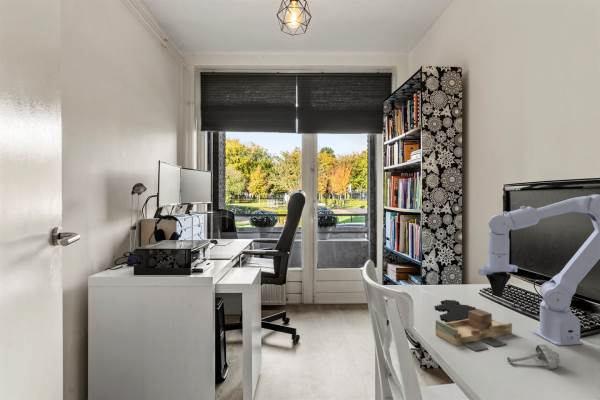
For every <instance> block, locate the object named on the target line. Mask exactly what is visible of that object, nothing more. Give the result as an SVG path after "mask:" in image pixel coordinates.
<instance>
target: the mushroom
mask: <svg viewBox="0 0 600 400" xmlns="http://www.w3.org/2000/svg"><path fill="white" fill-rule="evenodd" d="M506 360H507V363H509V364H510V365H512V364H513V363H517V362H523V361H526V360H533V361H537V362H539V363H542V364H543V365H544V363H545V364H546V365H547V366H546V367H547V369H550V370H553V369H556V368H557V367H558V364H559V363H560V361H561V359H560V354H559V353H558V352H557V351H555V350H552V349H551V348H549V347H548V346H547V345H546V344H544V343H538V344H537V345H536V347H535V353H532V354H531V353H530V354H528V355H524V356H519V357H509V356H507V357H506Z"/></svg>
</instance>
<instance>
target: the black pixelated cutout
mask: <svg viewBox="0 0 600 400" xmlns="http://www.w3.org/2000/svg"><path fill="white" fill-rule="evenodd" d="M440 303H441V304H437V305H434V310H435V311H438V312H444V313H441V314H439V318H440V321H443V323H448V322H453V321H459V320H464V319H468V311H471V310H477V309H478V308H476V307H475V306H472V305H469V304H461V303H460V302H459V300H455V299H444V300H441V301H440ZM445 312H446V313H445Z"/></svg>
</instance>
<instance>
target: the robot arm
mask: <svg viewBox="0 0 600 400" xmlns="http://www.w3.org/2000/svg"><path fill="white" fill-rule="evenodd" d="M571 212H572V213H573V212H574V213H581V214H586V215H587V216H588V217H589V218H590V219H591V223H592V225H593V228H594V230H593V232H592V233H591V234H590V235H589V237H588V238H587V239H586V240H585V241H584V243H583V244H582V245H581V246H580V247H579V249H578V250H577V251H576V252H575V254H574V255H573V256H572V257H571V258H570V259H569V261H568V262H567V263H566V264H565V266H564V267H563V269H562V270H560V272H559V273H557V274H556V275H554V276H553V277H552V278H551V279H550V280H549V281H546V282H544V283H542V284H541V286H540V289H539V291H540V292H539V294H540V295H541V296H542V298H543V299H542V301H541V302H540V303H539V329H536V330H534V329H533V330H532V333H534V334H535V335H537V336H539V337H541V338H543V339H544V340H547V341H548V342H551V343H552V344H553V345H555V346H569V345H570V346H571V345H582V344H583V341H581V321H580V319H579V317H578V316H576V315H575V314H574V313H573V312H572V311H571V307H570V306H571V304H572V298H573V296H574V295H575V294H576V291H577V288H578V285H579V284H580V283H581V282H582V280H583V279H584V278H585V277H586V275H588V273H589V272H590V271H591V270H592V268H593V267H594V266H595V265H596V264H597V263H598V262H599V260H600V194H596V193H595V194H593V193H592V194H589V195H588V196H587V195H584V196H576V197H572V198H568V199H565V200H562V201H559V202H554V203H551V204H547V205H545V206H542V207H537V208H534V207H532V206H529V205H528V206H526V205H522V206H520V207H519V208H518V209H515V210H511V211H503V212H502V214H503V215H502V214H495V215H493V216H491V218H489V221H488V227H489V232H488V236H489V237H488V247H487V250H488V251H487V255H488V256H487V264H485V266H482V267H478V268H477V270H478V271H477V274H478V275H480V276H485V277H486V278H487V280H488V282H489V284H490V287H491V291H492V296H495V297H498V298H502V296H503V294H504V291H505V288H506V285H507V284H508V282H509V280H510V279H511V277H512V275H511V274H509V273H510V272H511V273H513V272H514V273H517V272H518V265H515V264H510V240H511V239H510V236H509V235H510V231H511V230H512V231H515V230H520V229H525V228H528V227H531V226H536V225H537V224H538V223H539V221H540V220H541V219H546V218H550V217H554V216H558V215H564V214H567V213H571Z"/></svg>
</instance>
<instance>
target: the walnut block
mask: <svg viewBox="0 0 600 400" xmlns="http://www.w3.org/2000/svg"><path fill="white" fill-rule="evenodd" d="M476 309H477V310H471V311H468V325H469V326H471V327H473V328H476V329H479V330H480V331H481V330H486V329H489V327H491V326H492V320H493V319H492V318H493V313H491V312H488V311H485V310H483V309H481V308H476Z"/></svg>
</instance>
